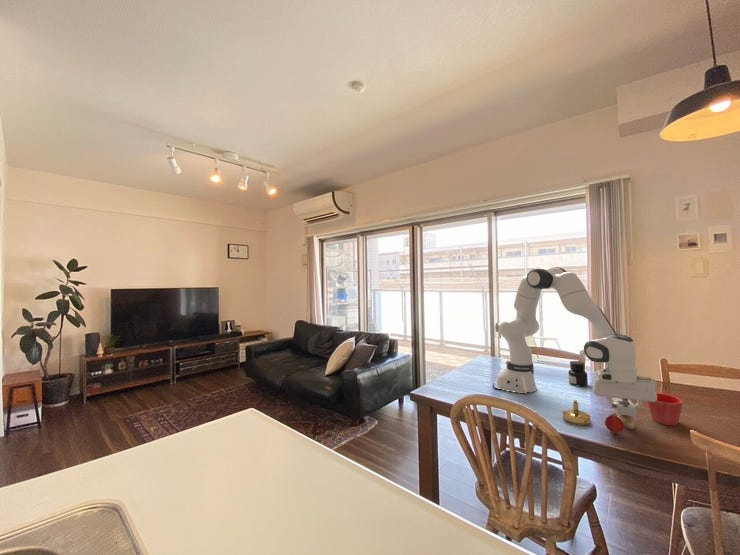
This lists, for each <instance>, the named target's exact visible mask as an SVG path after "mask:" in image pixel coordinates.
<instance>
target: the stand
mask: <svg viewBox="0 0 740 555" xmlns="http://www.w3.org/2000/svg"><path fill="white" fill-rule="evenodd" d="M621 399H622V404H623V405H628V400H629V399H623V398H621ZM617 417H618V418H620V419H621V420H622V422H623V423H624V429H627V430H633V429H635V416H631V415H623V414H618V413H617Z"/></svg>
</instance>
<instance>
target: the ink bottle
mask: <svg viewBox="0 0 740 555" xmlns="http://www.w3.org/2000/svg"><path fill="white" fill-rule="evenodd" d="M569 365H570V369H569V370H568V382H569V383H568V384H570V385H572V386H577V387H587V386H588V385H589V380H588V377H589V376H588V372H587V371H586V364H585V362H583V361H580V360H573V361H572V360H570V362H569Z"/></svg>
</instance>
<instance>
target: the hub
mask: <svg viewBox="0 0 740 555" xmlns="http://www.w3.org/2000/svg"><path fill="white" fill-rule="evenodd" d="M572 403H573V404H572V405H573V406H572V407H573V409H572V408H571V409H564V410H562V420H563V419H564V420H565V421H564V420H563V421H564V422H566V423H568V424H570V423H571V425H573V424H575V426H578V425H580V426H579V427H587V425H588V426H590V425H591V424H592V417H591V415H590V414H589V413H587V412H585V411H582V410H579V403H578V400H577V399H574V401H573V402H572Z"/></svg>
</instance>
